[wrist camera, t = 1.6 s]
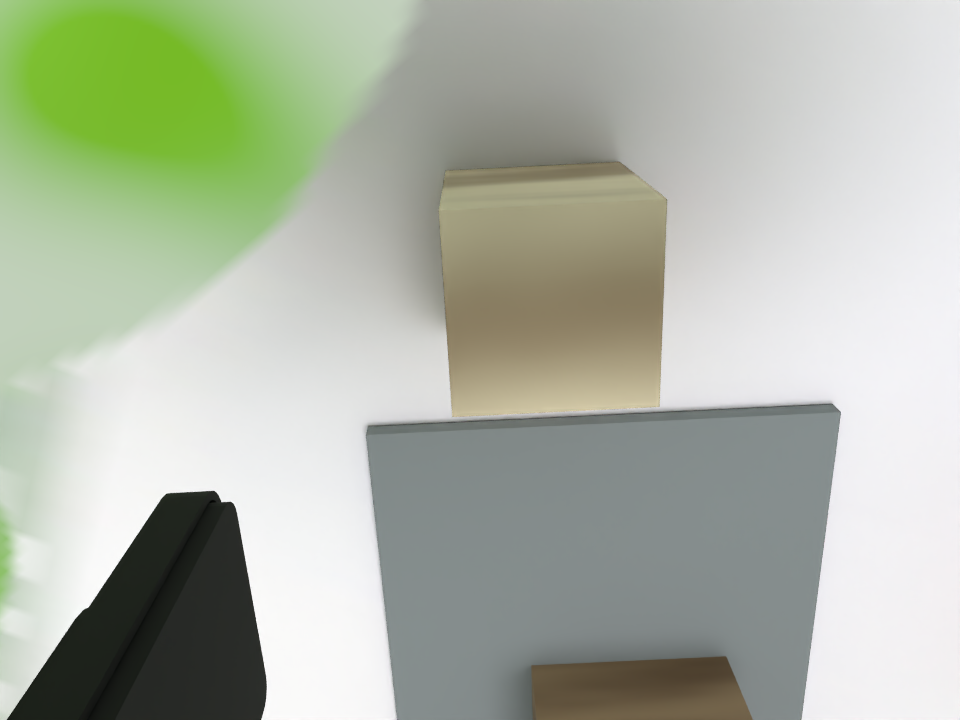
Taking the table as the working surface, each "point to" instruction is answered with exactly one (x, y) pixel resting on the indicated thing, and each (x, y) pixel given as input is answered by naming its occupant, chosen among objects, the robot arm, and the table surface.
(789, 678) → the mat
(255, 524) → the table surface
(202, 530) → the robot arm
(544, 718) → the walnut block
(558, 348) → the maple block
